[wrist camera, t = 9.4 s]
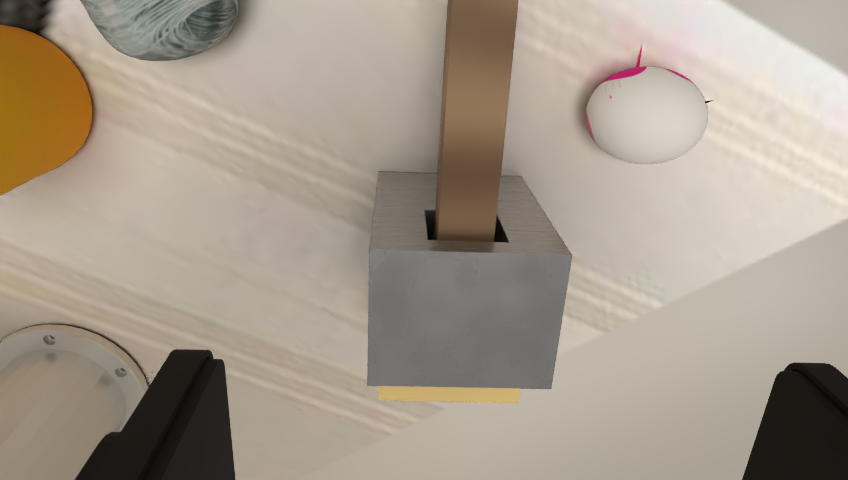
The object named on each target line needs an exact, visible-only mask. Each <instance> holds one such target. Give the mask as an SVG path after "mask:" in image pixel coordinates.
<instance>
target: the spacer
mask: <svg viewBox="0 0 848 480" xmlns="http://www.w3.org/2000/svg"><path fill="white" fill-rule="evenodd" d="M519 393H520V389H519V388H465V387H411V386H379V391H378V400H395V401H438V402H482V403H483V402H484V403H518V401H519Z"/></svg>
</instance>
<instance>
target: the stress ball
mask: <svg viewBox="0 0 848 480" xmlns="http://www.w3.org/2000/svg"><path fill="white" fill-rule="evenodd" d="M641 50H642V47H641ZM640 58H641V51H640V56H639V60H638V64H637V68H631V69H627V70H624V71H621V72H619V73H617V74H614V75H613V76H611V77H609V78H608V79H606V80H605V81H604V82H602V83H601V84H600V85H599V86H598V87H597V88H596V90H595V91H594V92H593V94H592V95H591V97H590V99H589V102H588V105H587V109H586V124H587V128H588V131H589V133H590V135H591V137H592V138H593V140H594V141H595V143H596V144H597V145H598V146H599V147H600V148H601V149H602V150H604V151H605V152H606V153H608V154H609V155H611V156H613V157H615V158H617V159H620V160H623V161H626V162H630V163H635V164H657V163H662V162H666V161H669V160H673V159H675V158H677V157H679V156H681V155H683V154H685V153H686V152H688V151H689V150H690V149H691V148H693V147H694V146H695V145H696V144H697V142H698V141H699V140H700V139H701V137H702V135H703V133H704V131H705V129H706V126H707V122H708V108H707V104H706V103H708V102H710V101H705V98H704V96H703V94H702V93H701V91H700V90H699V88H698V87H697V86H696V85H695V84H694V83H693V82H692V81H690V80H689V79H688V78H686V77H685V76H683V75H681V74H679V73H677V72H674V71H672V70H668V69H664V68H659V67H639V65H640ZM711 101H713V100H711Z"/></svg>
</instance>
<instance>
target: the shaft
mask: <svg viewBox="0 0 848 480" xmlns="http://www.w3.org/2000/svg"><path fill="white" fill-rule="evenodd" d="M517 9H518V0H448V6H447V23H446V40H445V57H444V74H443V90H442V107H441V124H440V141H439V157H438V174H437V191H436V208H435V225H434V240H444V241H476V242H494V236H495V226H496V216H497V206H498V196H499V186H500V176H501V166H502V157H503V147H504V137H505V127H506V117H507V107H508V97H509V88H510V78H511V68H512V58H513V48H514V38H515V28H516V18H517Z"/></svg>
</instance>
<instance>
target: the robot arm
mask: <svg viewBox="0 0 848 480" xmlns="http://www.w3.org/2000/svg"><path fill="white" fill-rule="evenodd" d="M0 480H235V472H234V461H233V450H232V440H231V429H230V418H229V407H228V396H227V386H226V375H225V366H224V362H223V360H222V359H213V355H212V352H211V351H210V350H179V349H176V350H173V351H172V352H171V353H170V354H169V356H168V358H167V359H166V361H165V362H164V364H163V366H162V367H161V369H160V370H159V372H158V373H157V375H156V377H155V378H154V380H153V381H152V383H151V385H150V386H149V388H148V385H147V382H146V380H145V377H144V375H143V374H142V372H141V371H140V369H139V368H138V366H137V364H136V363H135V362H134V361H133V360H132V359H131V358H130V357H129V356H128V355H127V354H126V353H125V352H124V351H123V350H121V349H120V348H119V347H117V346H116V345H115V344H114V343H112V342H110V341H108V340H107V339H105V338H103V337H101V336H99V335H97V334H94V333H92V332H89V331H87V330H84V329H80V328H75V327H71V326H66V325H51V324H49V325H39V326H32V327H29V328H25V329H22V330H19V331H17V332H15V333H13V334H11V335H9V336H7V337H6V338H5V339H3V340H2V341H1V342H0ZM742 480H848V378H847V377H845V376H844V375H843V374H842V373H841V372H840V371H839V370H837V369H836V368H835V367H833V366H832V365H830V364H825V363H792V364H789V365H788V366H787V367H786V368H785V370H784V371H782V372H780V373H779V374H777V376H776V378H775V381H774V384H773V387H772V390H771V393H770V396H769V399H768V403H767V405H766V408H765V412H764V415H763V418H762V421H761V424H760V427H759V430H758V433H757V436H756V440H755V442H754V446H753V448H752V451H751V454H750V457H749V461H748V464H747V467H746V470H745V473H744V476H743V479H742Z"/></svg>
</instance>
